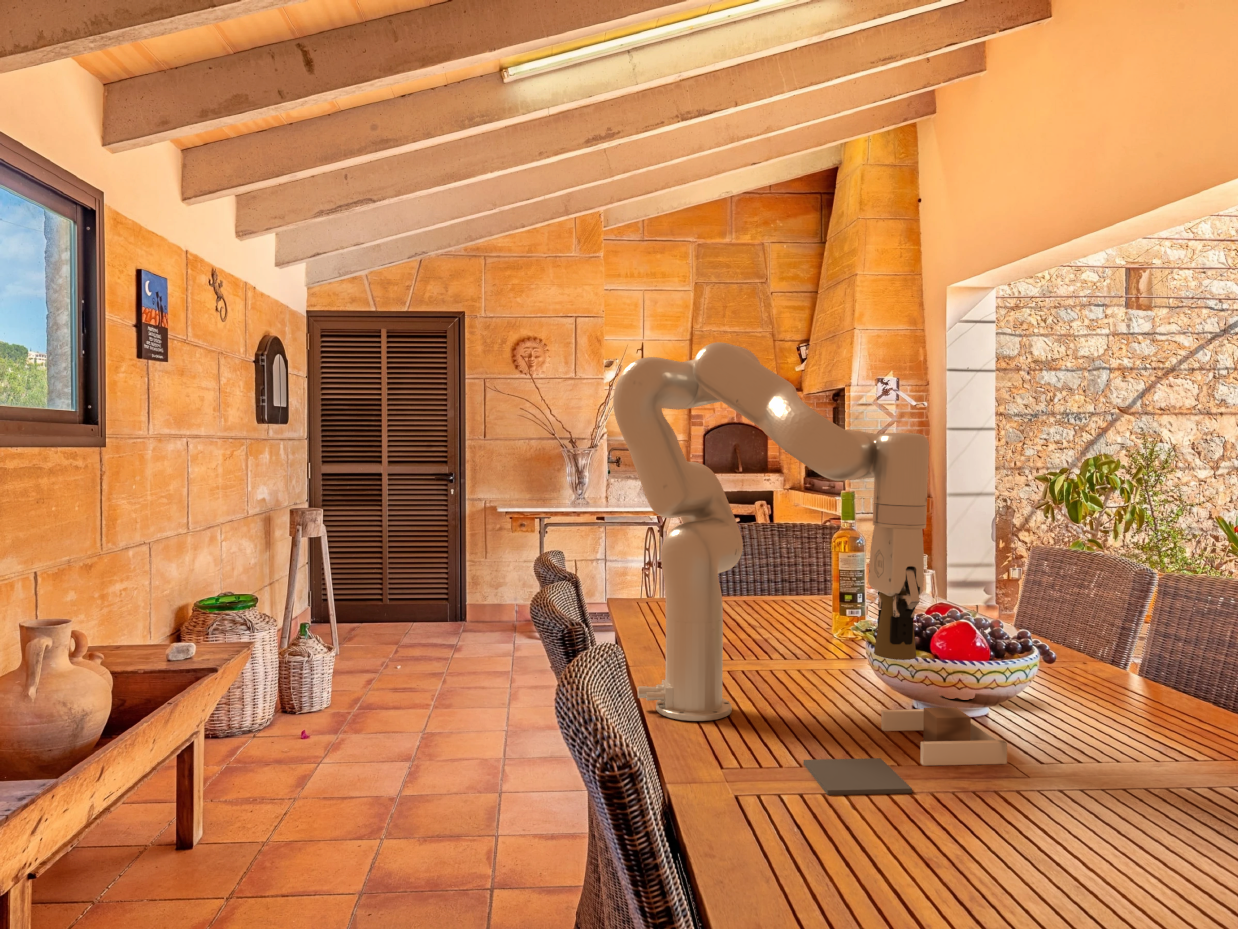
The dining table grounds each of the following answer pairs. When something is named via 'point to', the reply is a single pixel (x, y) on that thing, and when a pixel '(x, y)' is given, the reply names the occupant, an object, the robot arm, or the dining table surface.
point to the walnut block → (946, 725)
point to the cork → (883, 634)
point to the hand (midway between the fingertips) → (894, 638)
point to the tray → (975, 751)
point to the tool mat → (856, 776)
